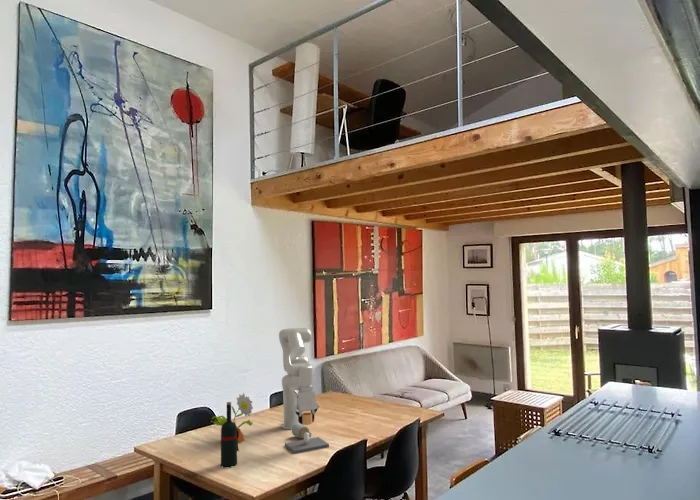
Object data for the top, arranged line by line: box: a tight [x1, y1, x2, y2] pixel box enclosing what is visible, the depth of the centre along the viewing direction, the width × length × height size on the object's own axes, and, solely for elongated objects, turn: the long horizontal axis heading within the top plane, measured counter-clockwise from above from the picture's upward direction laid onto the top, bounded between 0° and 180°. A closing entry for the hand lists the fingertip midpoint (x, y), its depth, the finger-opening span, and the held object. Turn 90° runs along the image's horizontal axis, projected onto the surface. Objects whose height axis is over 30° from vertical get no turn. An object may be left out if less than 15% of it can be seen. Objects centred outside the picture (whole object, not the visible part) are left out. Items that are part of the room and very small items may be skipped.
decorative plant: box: [210, 392, 254, 444], centre depth 272 cm, size 27×24×25 cm
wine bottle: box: [220, 401, 240, 468], centre depth 238 cm, size 8×10×30 cm
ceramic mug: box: [291, 423, 313, 440], centre depth 276 cm, size 11×8×8 cm
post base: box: [284, 432, 330, 455], centre depth 260 cm, size 14×20×7 cm
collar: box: [301, 411, 314, 426], centre depth 261 cm, size 6×6×5 cm
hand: (306, 422), depth 260 cm, fingers closed on collar, 6 cm apart
